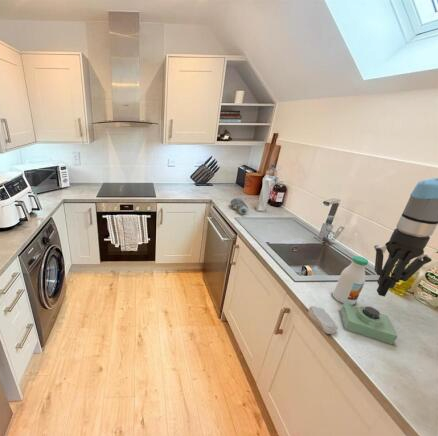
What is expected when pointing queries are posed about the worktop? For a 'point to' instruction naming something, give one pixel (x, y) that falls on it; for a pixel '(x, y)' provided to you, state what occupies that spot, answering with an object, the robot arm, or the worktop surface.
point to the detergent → (239, 205)
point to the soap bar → (322, 320)
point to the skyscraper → (264, 195)
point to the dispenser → (368, 324)
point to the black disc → (371, 312)
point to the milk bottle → (351, 281)
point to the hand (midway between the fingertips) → (380, 293)
